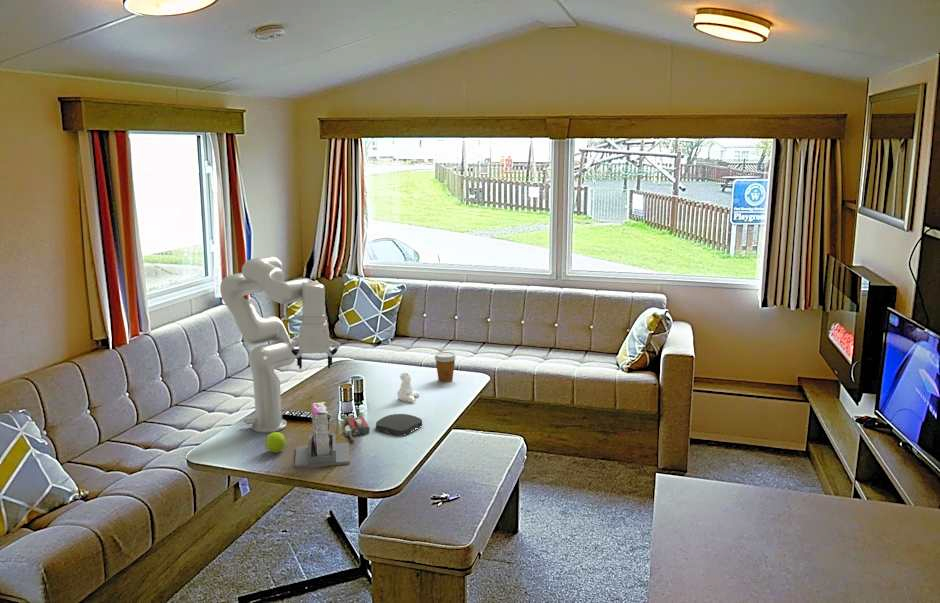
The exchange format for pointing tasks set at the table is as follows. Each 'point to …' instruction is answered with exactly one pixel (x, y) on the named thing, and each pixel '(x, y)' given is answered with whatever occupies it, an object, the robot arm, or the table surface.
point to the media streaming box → (398, 424)
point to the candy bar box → (320, 429)
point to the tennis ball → (275, 442)
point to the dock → (309, 458)
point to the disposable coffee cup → (445, 366)
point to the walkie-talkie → (356, 427)
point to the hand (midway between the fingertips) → (314, 367)
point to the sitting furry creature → (407, 389)
